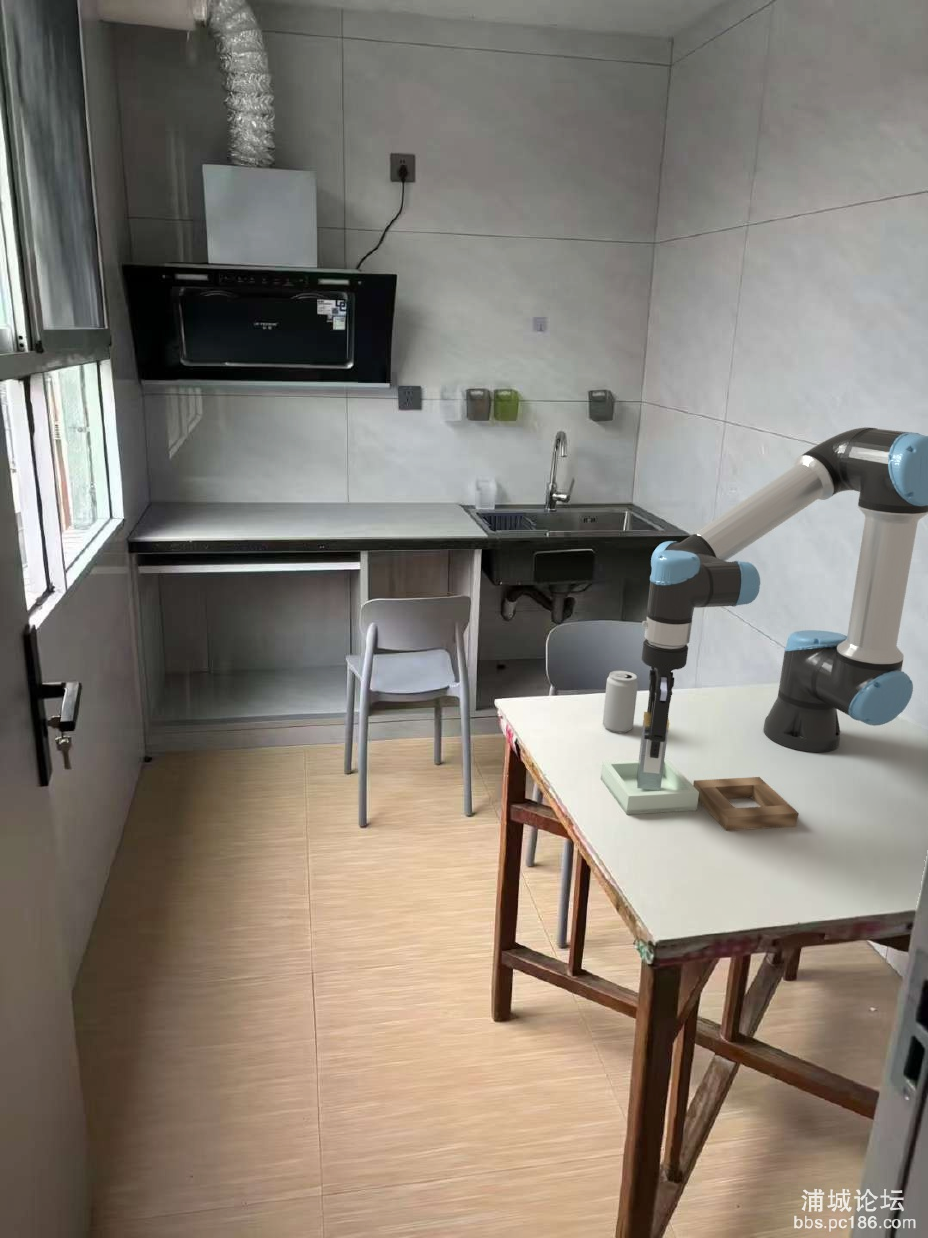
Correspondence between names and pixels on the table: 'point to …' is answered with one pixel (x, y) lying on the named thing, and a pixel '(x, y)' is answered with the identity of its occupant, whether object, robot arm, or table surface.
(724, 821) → the socket block
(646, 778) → the strut
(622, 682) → the beverage can
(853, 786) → the table surface
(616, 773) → the bin
